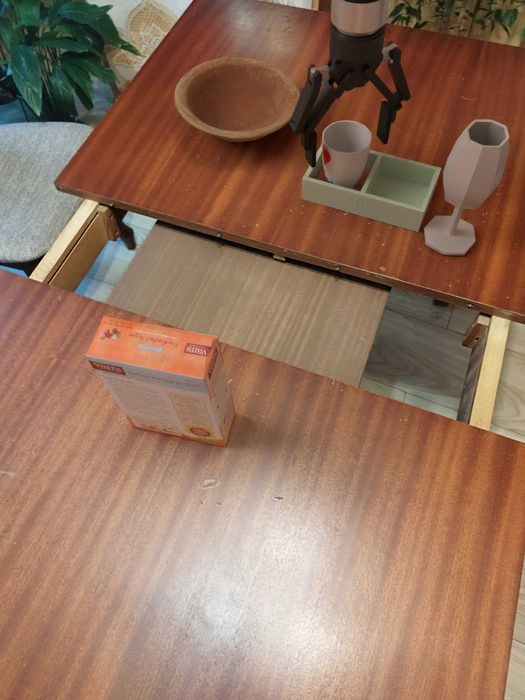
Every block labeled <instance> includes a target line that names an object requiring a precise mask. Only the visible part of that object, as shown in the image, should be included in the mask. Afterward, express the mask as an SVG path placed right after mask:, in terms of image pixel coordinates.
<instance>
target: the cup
mask: <svg viewBox="0 0 525 700" xmlns="http://www.w3.org/2000/svg"><path fill="white" fill-rule="evenodd" d="M321 136H322V137H321V144H322V158H323V165H324V173H325V177H326V180H327V182H328V183H332V184H335V185H339V186H343V187H346V188H350V189H354V188H355V186H356V184H357V183H358V181H359V179H360V177H361V175H362V172H363V170H364V167H365V164H366V162H367V158H368V154H369V150H371V149H370V148H371V145H372V141H373V135H372V132H371V130H370V129H369V128H368V127H367V126H366V125H365V124H363V123H362V122H361V123H360V122H359V121H356V120H355V121H354V120H346V119H345V120H339V121H335V122H332V123H330V124H329V125H328V126H327V127H325V129H324V130H323V131H322V135H321Z"/></svg>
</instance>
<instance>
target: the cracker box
mask: <svg viewBox="0 0 525 700" xmlns="http://www.w3.org/2000/svg"><path fill="white" fill-rule="evenodd" d="M84 356H85V358H86V359H87V361H88V362H89V364H90V365H91V367H92V368H93V370H94V371H95V373H96V374H97V376H98V377H99V379H100V380H101V382H102V384H103V385H104V386H105V389H106V390H107V391H108V392H109V394H110V395H111V397H112V398H113V400H114V401H115V403H116V404H117V406H118V407H119V409H120V410H121V412H122V413H123V415H124V416H125V417H126V419H127V421H128V422H129V424H130V425H131V427H132V428H136V429H139V430H144V431H149V432H153V433H158V434H161V435H162V434H163V435H167V436H172V437H177V438H181V439H185V440H190V441H195V442H199V443H203V444H208V445H213V446H217V447H220V448H221V447H222V448H225V447H226V446H227V442H228V439H229V435H230V433H231V429H232V426H233V422H234V418H235V416H236V408H235V405H234V400H233V395H232V392H231V391H232V390H231V387H230V382H229V379H228V373H227V370H226V364H225V361H224V358H223V357H224V356H223V353H222V349H221V344H220V341H219V337H218V336H217V335H210V334H205V333H201V332H200V333H199V332H194V331H189V330H184V329H179V328H178V329H177V328H173V327H166V326H163V325H162V326H161V325H157V324H151V323H146V322H141V321H135V320H131V319H126V318H119V317H115V316H109V315H104V316H102V319H101V322H100V324H99V326H98V327H97V330H96V332H95V334H94V337H93V339H92V341H91V343H90V346H89V347H88V349H87V351H86V353H85V355H84Z"/></svg>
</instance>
